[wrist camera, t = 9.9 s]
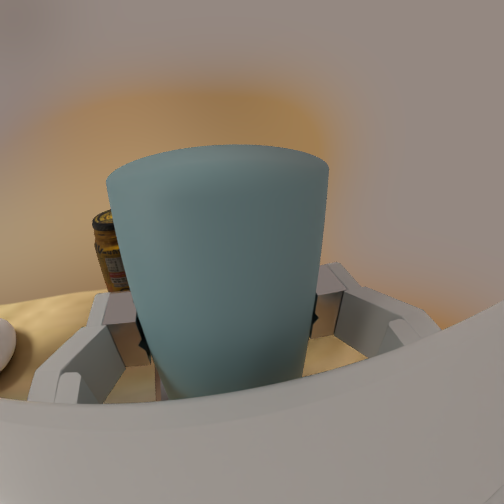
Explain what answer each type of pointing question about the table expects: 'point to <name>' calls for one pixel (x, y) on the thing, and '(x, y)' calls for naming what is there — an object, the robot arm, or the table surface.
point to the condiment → (109, 253)
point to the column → (222, 261)
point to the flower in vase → (6, 342)
